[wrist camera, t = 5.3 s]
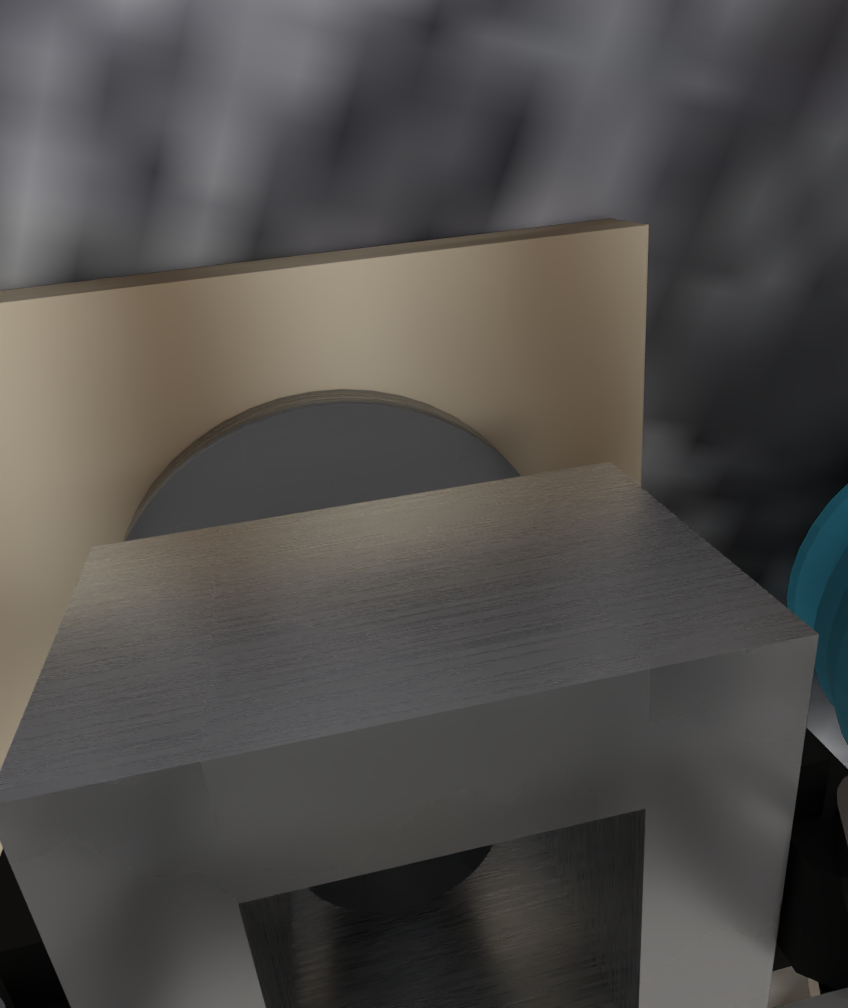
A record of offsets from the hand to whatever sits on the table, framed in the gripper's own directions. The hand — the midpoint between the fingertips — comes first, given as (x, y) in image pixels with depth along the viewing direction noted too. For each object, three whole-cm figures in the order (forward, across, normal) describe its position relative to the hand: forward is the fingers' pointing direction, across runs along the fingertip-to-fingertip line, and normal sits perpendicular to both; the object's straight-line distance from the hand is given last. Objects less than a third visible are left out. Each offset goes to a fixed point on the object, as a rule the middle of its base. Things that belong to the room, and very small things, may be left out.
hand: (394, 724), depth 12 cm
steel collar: (0, 0, 0) cm, 0 cm away
